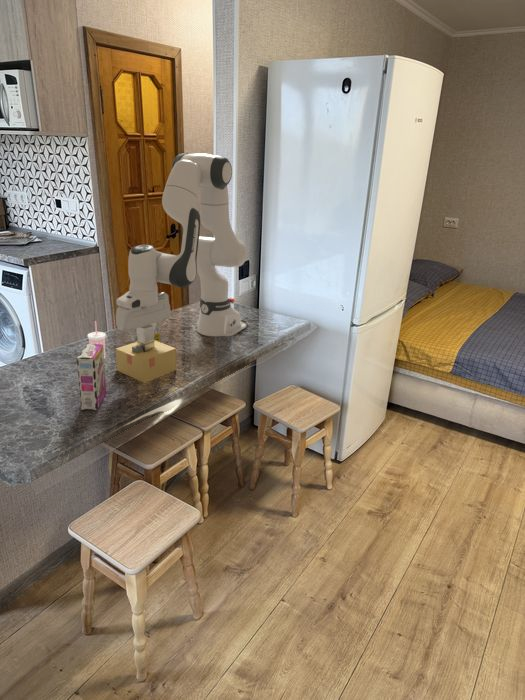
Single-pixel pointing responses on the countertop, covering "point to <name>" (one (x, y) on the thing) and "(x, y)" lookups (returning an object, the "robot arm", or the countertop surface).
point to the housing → (146, 361)
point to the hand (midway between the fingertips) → (145, 337)
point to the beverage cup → (97, 338)
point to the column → (146, 337)
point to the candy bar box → (91, 376)
